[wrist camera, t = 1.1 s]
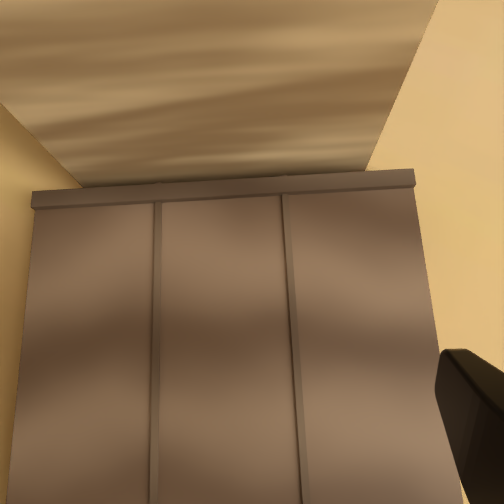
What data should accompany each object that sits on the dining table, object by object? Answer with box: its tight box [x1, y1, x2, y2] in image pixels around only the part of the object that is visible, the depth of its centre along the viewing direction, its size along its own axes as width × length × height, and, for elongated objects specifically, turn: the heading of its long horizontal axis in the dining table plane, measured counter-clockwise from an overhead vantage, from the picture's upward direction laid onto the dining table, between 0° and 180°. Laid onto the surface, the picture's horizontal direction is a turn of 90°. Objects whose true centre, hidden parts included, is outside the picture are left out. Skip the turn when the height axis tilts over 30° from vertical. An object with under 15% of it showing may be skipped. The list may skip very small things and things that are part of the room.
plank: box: [0, 0, 438, 188], centre depth 16 cm, size 2×14×16 cm, turn 92°
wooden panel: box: [6, 169, 463, 504], centre depth 20 cm, size 16×18×2 cm
